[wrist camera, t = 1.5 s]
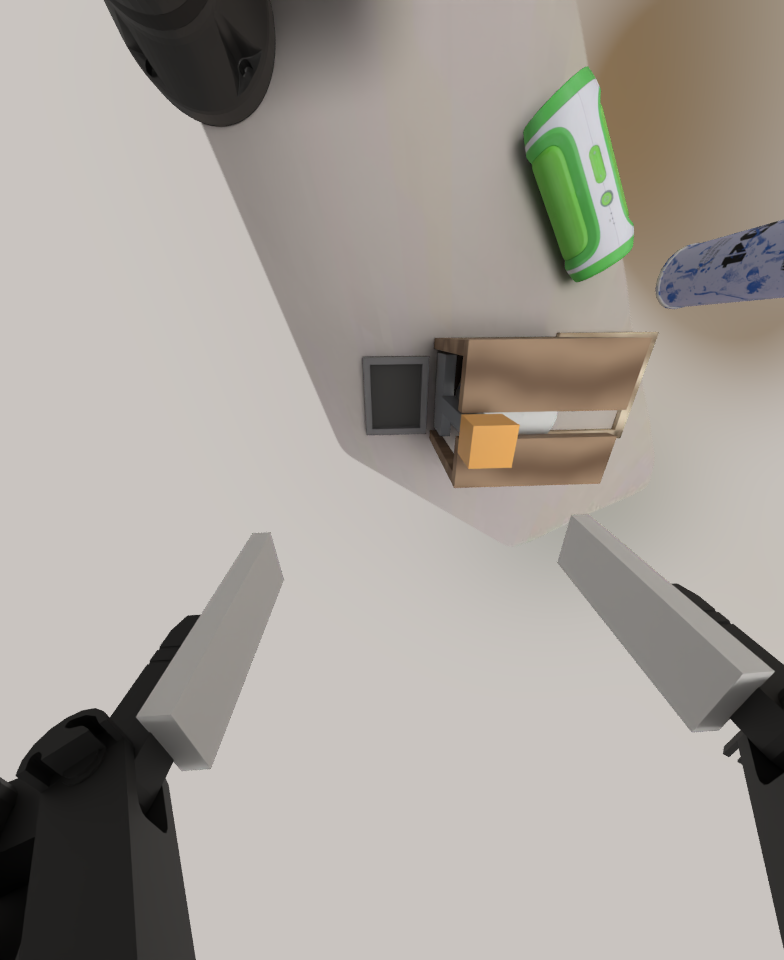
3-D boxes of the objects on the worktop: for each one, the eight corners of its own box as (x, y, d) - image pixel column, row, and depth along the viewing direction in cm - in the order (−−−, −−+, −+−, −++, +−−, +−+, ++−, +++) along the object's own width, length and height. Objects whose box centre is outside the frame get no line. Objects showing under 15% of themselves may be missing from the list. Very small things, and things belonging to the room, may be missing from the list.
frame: (557, 333, 44) (560, 333, 43) (654, 332, 45) (658, 332, 44) (533, 438, 52) (535, 440, 51) (616, 436, 52) (620, 438, 52)
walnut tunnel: (434, 337, 44) (469, 339, 27) (550, 336, 44) (652, 337, 28) (429, 438, 51) (454, 487, 34) (528, 436, 52) (599, 483, 35)
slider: (429, 352, 44) (480, 369, 22) (455, 352, 44) (530, 368, 22) (426, 425, 49) (464, 497, 27) (449, 425, 49) (505, 496, 28)
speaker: (608, 253, 40) (655, 236, 33) (559, 289, 42) (594, 280, 35) (564, 98, 33) (612, 38, 26) (508, 148, 35) (539, 104, 28)
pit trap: (363, 356, 44) (362, 357, 43) (427, 355, 45) (429, 356, 43) (367, 431, 50) (366, 435, 48) (424, 430, 50) (425, 433, 48)
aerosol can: (693, 229, 39) (958, 140, 21) (723, 268, 41) (986, 217, 23) (644, 287, 42) (841, 251, 24) (674, 320, 44) (876, 310, 26)
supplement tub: (506, 421, 50) (551, 451, 37) (452, 424, 50) (478, 455, 37) (514, 361, 46) (569, 372, 33) (455, 364, 46) (486, 376, 32)
